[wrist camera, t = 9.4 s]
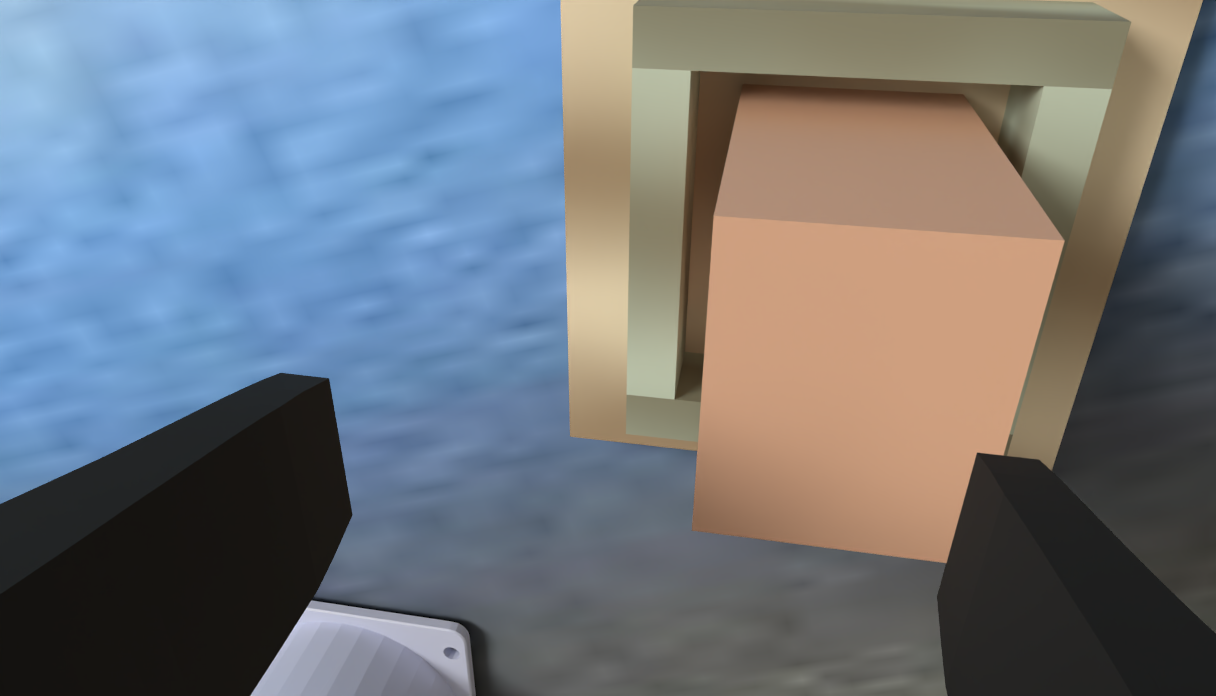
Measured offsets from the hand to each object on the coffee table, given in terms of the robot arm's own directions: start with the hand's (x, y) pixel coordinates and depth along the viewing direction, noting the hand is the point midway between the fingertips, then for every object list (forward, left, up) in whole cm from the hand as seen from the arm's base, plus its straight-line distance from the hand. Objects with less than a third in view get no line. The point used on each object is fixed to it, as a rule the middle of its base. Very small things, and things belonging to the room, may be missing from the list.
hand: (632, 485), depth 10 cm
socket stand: (0, -3, -10) cm, 11 cm away
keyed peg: (0, -3, -9) cm, 10 cm away
